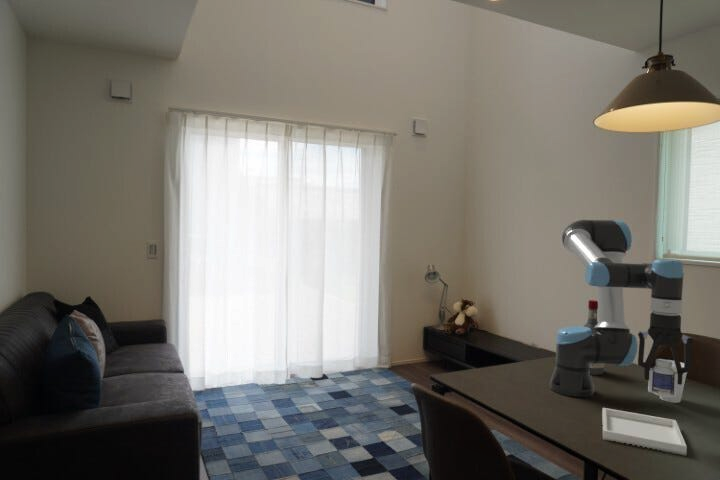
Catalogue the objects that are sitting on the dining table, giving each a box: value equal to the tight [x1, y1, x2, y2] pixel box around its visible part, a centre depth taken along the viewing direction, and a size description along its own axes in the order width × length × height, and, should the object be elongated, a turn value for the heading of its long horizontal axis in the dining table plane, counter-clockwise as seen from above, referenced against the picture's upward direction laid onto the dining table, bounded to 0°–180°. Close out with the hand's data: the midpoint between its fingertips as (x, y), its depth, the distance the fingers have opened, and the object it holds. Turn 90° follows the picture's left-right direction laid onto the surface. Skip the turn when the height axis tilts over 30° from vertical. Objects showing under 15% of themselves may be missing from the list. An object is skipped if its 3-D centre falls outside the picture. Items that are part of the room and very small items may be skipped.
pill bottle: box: [652, 358, 674, 397], centre depth 140 cm, size 5×5×10 cm
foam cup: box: [659, 359, 688, 404], centre depth 172 cm, size 10×9×13 cm
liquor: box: [582, 299, 605, 376], centre depth 203 cm, size 9×9×30 cm
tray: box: [601, 407, 688, 456], centre depth 143 cm, size 20×20×2 cm
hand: (662, 392), depth 140 cm, fingers closed on pill bottle, 5 cm apart
